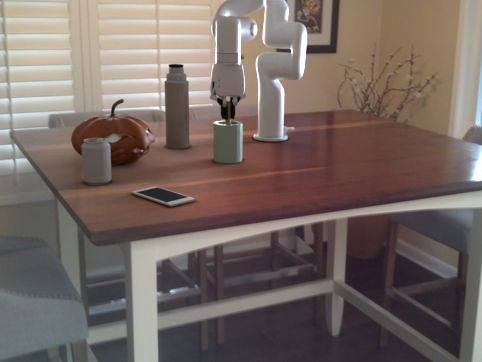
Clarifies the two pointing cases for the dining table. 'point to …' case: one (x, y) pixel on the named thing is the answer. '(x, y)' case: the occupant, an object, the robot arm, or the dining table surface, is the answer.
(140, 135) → the pumpkin
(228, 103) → the brush
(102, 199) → the dining table surface
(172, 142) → the thermos bottle
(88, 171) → the can
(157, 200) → the cell phone
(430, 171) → the dining table surface
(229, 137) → the sage green cup
